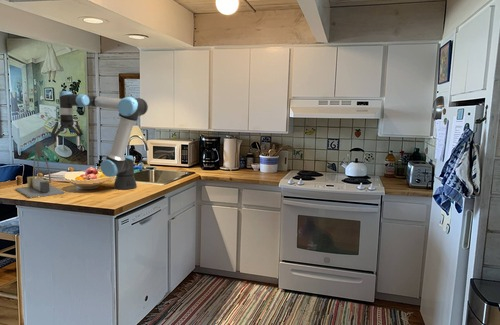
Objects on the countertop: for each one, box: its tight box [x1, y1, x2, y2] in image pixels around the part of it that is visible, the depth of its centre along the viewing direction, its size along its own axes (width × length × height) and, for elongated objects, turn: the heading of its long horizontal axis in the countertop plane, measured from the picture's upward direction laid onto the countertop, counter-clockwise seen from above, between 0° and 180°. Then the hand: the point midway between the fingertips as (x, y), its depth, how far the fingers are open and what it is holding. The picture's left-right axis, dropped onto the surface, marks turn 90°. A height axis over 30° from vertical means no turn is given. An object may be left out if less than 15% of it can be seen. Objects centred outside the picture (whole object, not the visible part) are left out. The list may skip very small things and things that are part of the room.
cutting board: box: [15, 184, 66, 199], centre depth 231 cm, size 30×20×1 cm, turn 47°
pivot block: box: [26, 175, 42, 188], centre depth 238 cm, size 5×7×8 cm
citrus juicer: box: [32, 141, 52, 184], centre depth 255 cm, size 11×10×30 cm
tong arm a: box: [36, 177, 50, 192], centre depth 230 cm, size 19×2×6 cm, turn 46°
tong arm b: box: [32, 178, 46, 192], centre depth 228 cm, size 19×2×6 cm, turn 47°
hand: (67, 146), depth 243 cm, fingers open, 13 cm apart
